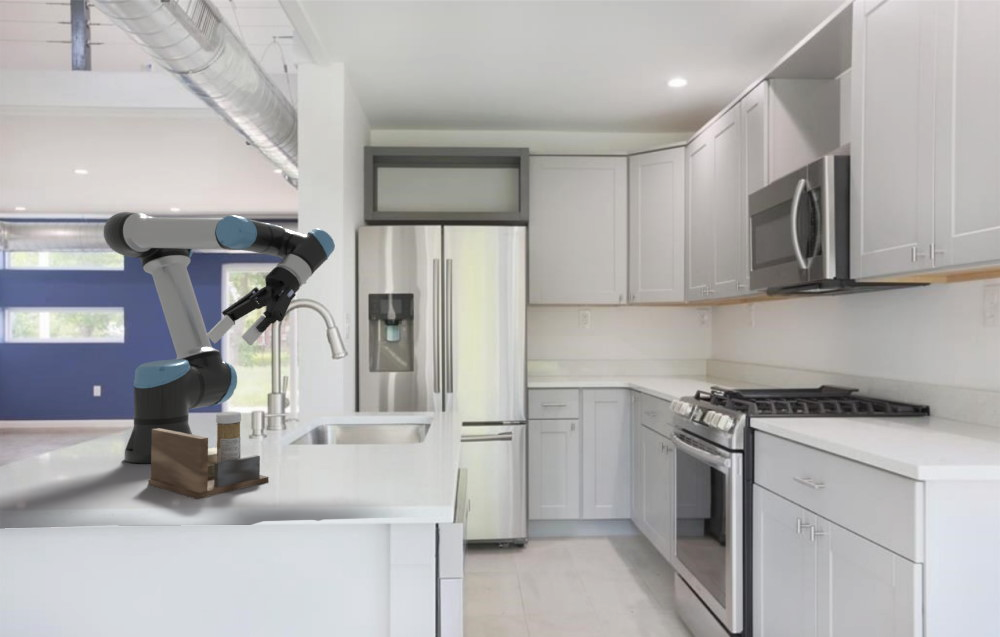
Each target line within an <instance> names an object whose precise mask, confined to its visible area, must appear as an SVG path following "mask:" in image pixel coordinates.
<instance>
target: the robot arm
mask: <svg viewBox="0 0 1000 637" xmlns="http://www.w3.org/2000/svg"><path fill="white" fill-rule="evenodd" d="M103 238H104V241H105V242H106V244H107V246H108V247H109V248H110V249H111V250H112V251H114V252H116V253H117V254H119V255H121V256H125V257H130V258H135V259H139V260H140V263H141V265H142V268H143V271H144V272H145V273H147V274H150V275H151V276H152V278H153V282H154V286H155V289H156V292H157V295H158V299H159V302H160V305H161V309H162V311H163V315H164V317H165V322H166V324H167V328H168V331H169V334H170V337H171V340H172V344H173V347H174V350H175V354H176V358H174V359H173V358H172V359H164V360H162V359H160V360H155V361H148V362H145V363H142V364H139V365H138V366H137V367H136V369H135V371H134V380H133V426H132V427H133V428H132V430H131V434H130V436H129V439H128V441H127V443H126V447H125V449H124V461H125V462H127V463H132V464H151V445H152V429H158V428H161V429H166V430H171V431H176V432H181V433H186V434H191V435H193V432H192V430H191V427H190V425H189V424H190V423H189V413H190V412H189V410H193V409H200V408H205V407H206V408H207V407H208V408H209V407H214V406H217V405H221V404H223V403H226V402H227V401H228V400H230V398H232V396H233V395H234V394H235V390H236V389H237V386H238V376H237V371H236V369H235V367H234V366H233V365H232V364H230V363H229V362H227V361H225V360H224V361H223V358H222V355H221V352H220V350H218V349H216V348H214V347H213V346H212V344H211V342H212V343H213V344H217V343H218V341H220V340H221V339H222V338H223V337H224V336H225V334H227V332H228V331H229V330H230V329H231V328H232V327H233V326H235V325H236V321H237V320H240V319H241V318H243V317H245V316H246V315H248V314H249V313H251V312H253V311H254V310H260V309H262V308H264V307H265V311H263V312H262V314H263V315H260V316H259V317H258V319H256V320H255V321H254V322H253V323H252V325H251V326H250V327H249V328H248V329H247V330H246V331H245V332H244V333H243V334H242V335H241V338H242V339H243V340H244V341H245V342H246V344H248V346H253V344H254V343H255V342H256V341H257V340H258V339H259V338H260V337H261V335H263V334H264V332H265V331H266V330H267V329H268V328H269V327H270V326H271V325H272V324H275V323H276V322H278V323H279V322H282V321H283V320H284V317H285V316H286V314H287V311H288V310H289V307H290V304H291V302H292V300H294V298H295V296H296V295H297V293H298V291H299V290H300V289H301V287H302V286H303V285H306V284H307V281H308V280H309V279H310V277H312V275H313V274H314V273H315V271H317V270H318V268H320V267H321V266H322V265H323V264H324V263H325V262H326V261H327V260H328V259H329V258H330V256H331V255H332V254H333V252H334V250H335V246H336V245H335V240H334V239H333V238H332V236H331V235H330V234H329V233H328V232H327V231H325V230H323V229H320V228H313V229H312V230H310V231H308V233H307V234H305V233H302V232H299V231H298V232H296V231H294V230H292V229H288V228H285V227H282V226H280V225H278V224H273V223H268V222H262V221H259V220H253V219H250V218H248V217H246V216H241V215H233V214H231V215H225V216H224V217H163V216H161V217H159V216H158V217H155V216H151V215H147V214H145V213H141V212H130V211H122V212H117V213H115V214H114V215H112V216H110V217H109V218H108V219H107V221H106V222H105V224H104V227H103ZM194 250H226V251H227V250H229V251H244V252H253V253H257V254H263V255H266V256H267V255H268V256H273V257H278V258H280V259H281V260H280V261H279V262H278V264H276V266H275V267H274V268H273V269H272V270H271V271H269V272H268V274H267V275H266V276H265V278H264V279H265V280H264V281H265V286H263V287H262V288H258V287H254V288H253V289H251V290H250V291H249V292H248V293H247V294H245V295H244V296H243V297H241V298H239V299H238V300H237V301H235V302H234V303H232V304H231V305H230V306H228V307H227V308H225V309H224V310H223V311H222V312H221V314H222V315H223V317H222V318H221V319H220V320H219V321H218V322H217V323H216V324H215V325H214V326H213V327H212V328H211V329H210V330H209V331H207V328H206V325H205V320H204V319H203V316H202V312H201V309H200V306H199V302H198V300H197V297H196V293H195V289H194V287H193V284H192V281H191V277H190V273H189V272H188V269H187V268H188V267H189V264H191V258H192V256H193V253H194ZM210 340H211V341H210Z"/></svg>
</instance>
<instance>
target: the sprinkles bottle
mask: <svg viewBox="0 0 1000 637" xmlns="http://www.w3.org/2000/svg"><path fill="white" fill-rule="evenodd" d="M215 416H216V417H215V418H216V419H215V422H216V426H217V427H216V429H217V430H216V432H217V434H216V435H217V436H216V448H217V463H218V462H223V461H228V460H234V459H239V458H241V421H242V413H241V412H240V411H235V410H234V411H232V410H231V411H222V412H218V413H217V414H216V415H215Z"/></svg>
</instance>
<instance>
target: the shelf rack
mask: <svg viewBox="0 0 1000 637" xmlns="http://www.w3.org/2000/svg"><path fill="white" fill-rule="evenodd" d="M150 464H151V465H150V478H148V479H147V480H148V485H149V486H152V487H156V488H160V489H163V490H165V491H169V492H172V493H176V494H179V495H183V496H186V497H189V498H193V499H196V500H198V499H203V498H207V497H212V496H216V495H219V494H223V493H228V492H231V491H232V492H233V491H235V490H240V489H243V488H248V487H251V486H252V487H253V486H257V485H260V484H265V483H269V476H266V475H262V474H260V473H261V471H260V468H261V457H260V455H258V454H256V455H250V456H244V457H240V458H239V459H234V460H228V461H223V462H218V463H217V446H216V447H215V446H214V447H209V437H207V436H200V435H195V434H192V435H191V434H186V433H181V432H176V431H171V430H166V429H161V428H158V429H152V445H151V463H150Z"/></svg>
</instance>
